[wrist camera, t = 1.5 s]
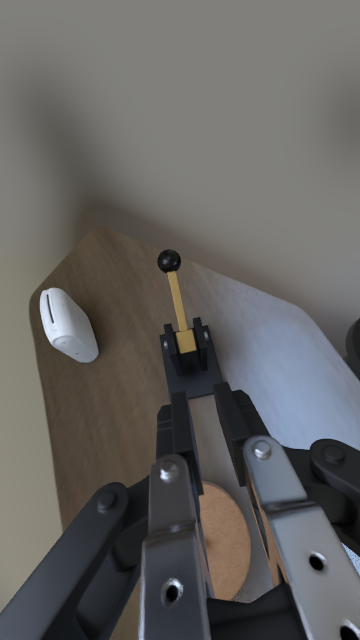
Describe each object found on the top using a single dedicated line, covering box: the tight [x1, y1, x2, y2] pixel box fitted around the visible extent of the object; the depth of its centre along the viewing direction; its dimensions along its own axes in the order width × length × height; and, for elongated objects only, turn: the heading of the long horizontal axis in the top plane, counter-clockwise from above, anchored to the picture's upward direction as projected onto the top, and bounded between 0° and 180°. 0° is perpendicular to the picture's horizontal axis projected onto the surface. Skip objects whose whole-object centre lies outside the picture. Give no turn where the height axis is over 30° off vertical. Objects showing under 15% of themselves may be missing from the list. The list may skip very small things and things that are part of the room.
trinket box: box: [199, 481, 251, 601], centre depth 30 cm, size 11×11×9 cm
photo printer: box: [40, 288, 98, 363], centre depth 42 cm, size 10×4×12 cm, turn 24°
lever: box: [157, 250, 197, 353], centre depth 34 cm, size 14×3×3 cm, turn 11°
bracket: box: [160, 317, 223, 401], centre depth 38 cm, size 12×9×13 cm
